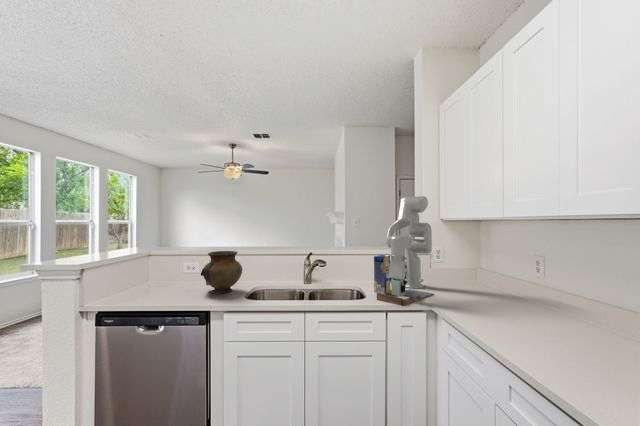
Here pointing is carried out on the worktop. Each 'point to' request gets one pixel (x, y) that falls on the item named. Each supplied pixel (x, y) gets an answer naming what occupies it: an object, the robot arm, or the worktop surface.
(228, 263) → the pot
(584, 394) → the worktop surface
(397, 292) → the block
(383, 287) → the beverage box
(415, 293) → the mat
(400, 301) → the brown wooden frame
